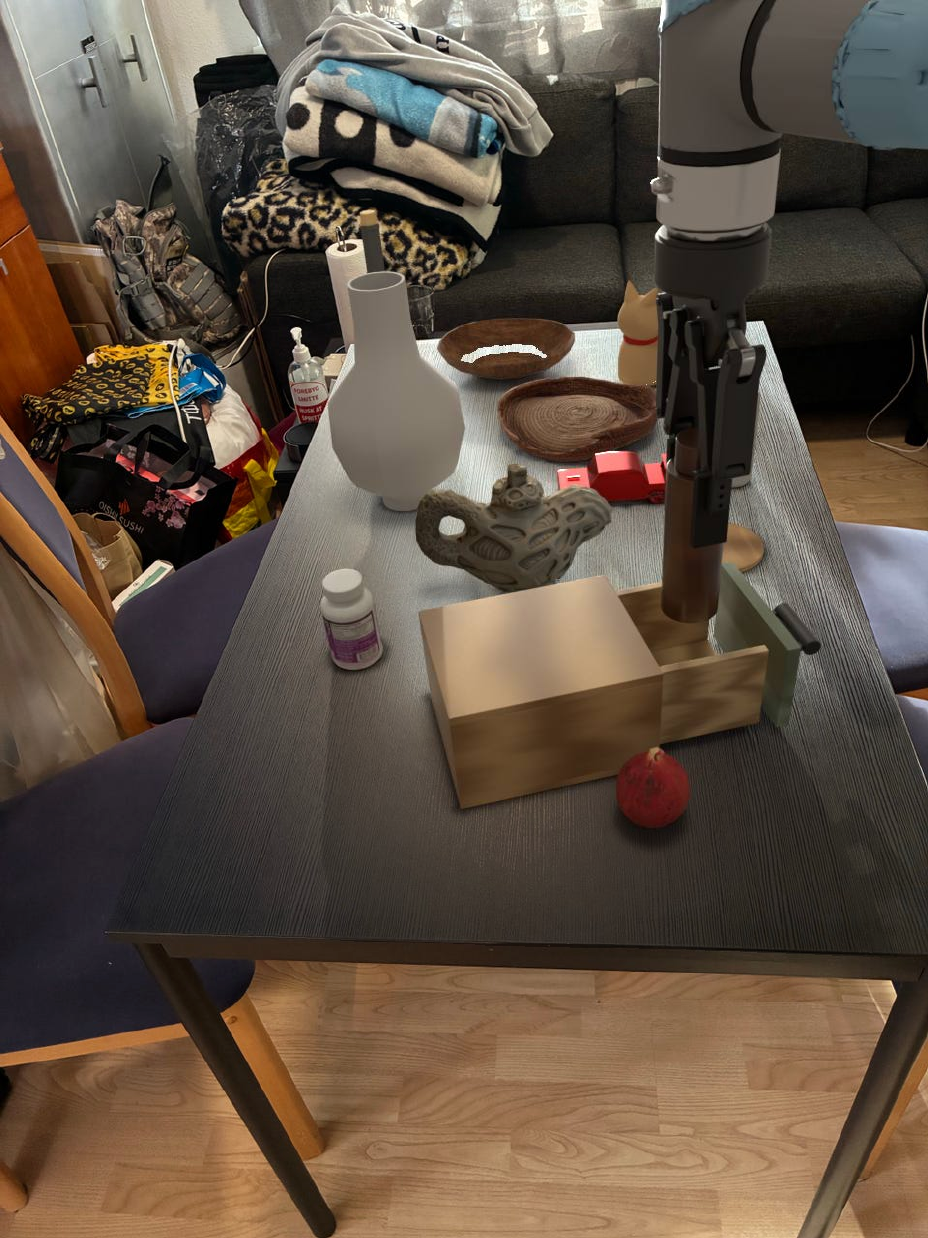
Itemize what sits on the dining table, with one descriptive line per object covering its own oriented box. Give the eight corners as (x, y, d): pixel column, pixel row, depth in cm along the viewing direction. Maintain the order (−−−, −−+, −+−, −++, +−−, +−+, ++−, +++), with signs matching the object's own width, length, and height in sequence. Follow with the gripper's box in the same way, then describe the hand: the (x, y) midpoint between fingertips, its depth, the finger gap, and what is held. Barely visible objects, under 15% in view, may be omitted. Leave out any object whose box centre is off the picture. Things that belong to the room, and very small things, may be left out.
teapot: (598, 540, 110) (597, 423, 101) (626, 597, 101) (629, 473, 92) (418, 570, 109) (401, 453, 100) (430, 630, 100) (413, 507, 90)
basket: (480, 459, 129) (477, 426, 126) (519, 396, 143) (518, 365, 140) (645, 471, 122) (646, 437, 119) (669, 404, 137) (670, 372, 134)
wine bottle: (429, 412, 142) (404, 201, 124) (419, 436, 136) (391, 218, 117) (377, 412, 143) (345, 204, 125) (365, 437, 137) (329, 222, 119)
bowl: (455, 345, 162) (452, 317, 159) (583, 345, 157) (582, 316, 154) (427, 394, 147) (423, 364, 144) (567, 396, 142) (566, 364, 139)
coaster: (779, 565, 103) (780, 560, 103) (693, 582, 102) (693, 577, 102) (739, 519, 111) (740, 515, 111) (659, 535, 110) (659, 530, 110)
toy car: (668, 481, 119) (669, 446, 116) (674, 504, 115) (676, 468, 112) (557, 488, 120) (556, 454, 117) (559, 511, 116) (558, 476, 113)
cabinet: (605, 661, 93) (605, 574, 87) (658, 765, 82) (663, 673, 75) (431, 697, 91) (418, 610, 85) (461, 809, 80) (448, 718, 73)
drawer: (765, 625, 94) (775, 552, 88) (834, 715, 83) (850, 637, 78) (564, 667, 92) (562, 594, 86) (609, 764, 81) (609, 688, 76)
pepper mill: (727, 617, 79) (743, 445, 70) (673, 628, 79) (681, 457, 69) (704, 586, 83) (716, 419, 73) (652, 596, 83) (658, 430, 73)
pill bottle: (336, 640, 100) (319, 565, 94) (385, 637, 99) (372, 562, 93) (328, 673, 95) (310, 597, 90) (380, 671, 95) (365, 594, 89)
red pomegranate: (676, 857, 74) (681, 788, 69) (606, 836, 76) (606, 768, 71) (694, 803, 78) (701, 735, 73) (627, 785, 80) (629, 717, 75)
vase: (473, 463, 128) (453, 252, 111) (469, 528, 115) (446, 300, 98) (352, 471, 129) (314, 263, 112) (335, 536, 116) (289, 312, 99)
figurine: (691, 377, 143) (697, 278, 134) (648, 399, 139) (652, 297, 130) (648, 363, 149) (651, 267, 140) (605, 384, 144) (606, 285, 135)
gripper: (614, 201, 69) (613, 482, 83) (715, 271, 54) (694, 596, 69) (711, 186, 69) (694, 467, 83) (836, 251, 55) (790, 576, 69)
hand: (694, 524), depth 76 cm, fingers closed on pepper mill, 5 cm apart
